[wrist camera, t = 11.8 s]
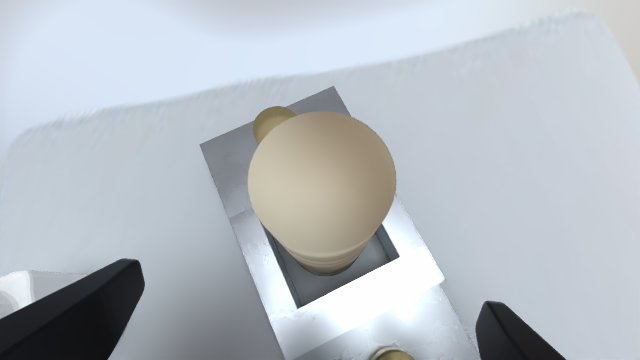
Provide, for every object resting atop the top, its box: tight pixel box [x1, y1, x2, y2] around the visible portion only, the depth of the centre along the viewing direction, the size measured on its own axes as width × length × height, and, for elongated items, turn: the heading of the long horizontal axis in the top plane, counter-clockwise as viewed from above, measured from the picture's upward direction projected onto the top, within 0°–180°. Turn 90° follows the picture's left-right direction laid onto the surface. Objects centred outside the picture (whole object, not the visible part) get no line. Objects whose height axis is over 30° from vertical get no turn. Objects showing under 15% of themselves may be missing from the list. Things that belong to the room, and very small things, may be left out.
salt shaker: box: [0, 270, 88, 319], centre depth 16 cm, size 4×4×10 cm
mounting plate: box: [200, 86, 481, 360], centre depth 18 cm, size 9×22×5 cm, turn 26°
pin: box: [248, 111, 396, 276], centre depth 16 cm, size 4×4×12 cm
